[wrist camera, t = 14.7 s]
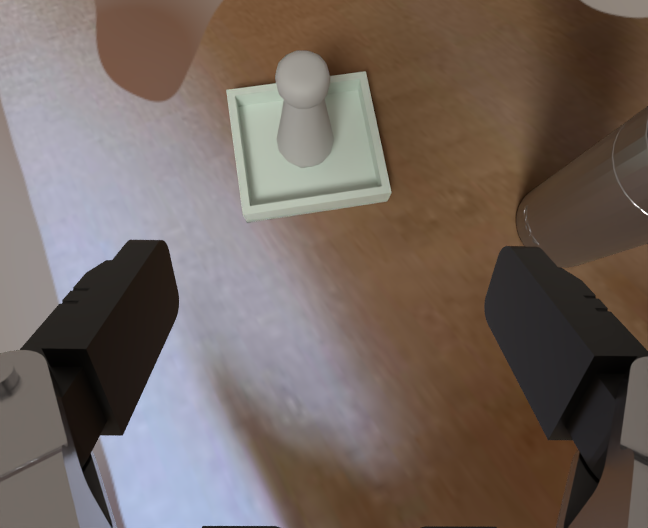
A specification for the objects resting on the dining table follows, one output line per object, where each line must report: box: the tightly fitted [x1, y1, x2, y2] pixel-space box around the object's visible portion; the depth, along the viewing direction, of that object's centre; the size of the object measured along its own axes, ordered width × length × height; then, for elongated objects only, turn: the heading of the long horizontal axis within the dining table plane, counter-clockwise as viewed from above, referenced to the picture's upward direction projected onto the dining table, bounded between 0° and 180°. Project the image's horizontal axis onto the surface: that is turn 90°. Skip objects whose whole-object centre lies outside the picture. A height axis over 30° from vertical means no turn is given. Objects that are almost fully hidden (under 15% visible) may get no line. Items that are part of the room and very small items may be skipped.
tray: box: [226, 71, 391, 223], centre depth 43 cm, size 15×14×2 cm
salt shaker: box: [275, 51, 334, 168], centre depth 37 cm, size 6×6×13 cm
